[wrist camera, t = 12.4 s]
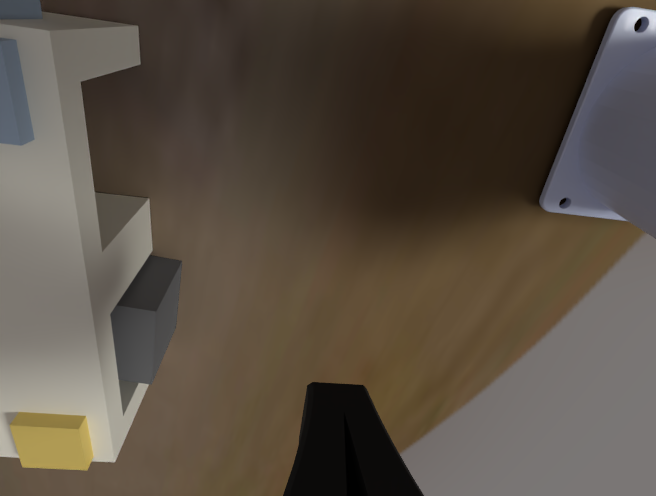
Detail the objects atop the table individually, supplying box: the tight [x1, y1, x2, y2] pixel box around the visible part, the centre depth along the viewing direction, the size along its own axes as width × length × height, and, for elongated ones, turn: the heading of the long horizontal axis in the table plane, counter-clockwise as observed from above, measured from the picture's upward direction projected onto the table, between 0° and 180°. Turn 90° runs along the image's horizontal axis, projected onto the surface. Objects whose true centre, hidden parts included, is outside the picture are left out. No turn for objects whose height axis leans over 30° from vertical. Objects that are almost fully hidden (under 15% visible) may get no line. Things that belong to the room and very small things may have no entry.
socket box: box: [0, 0, 153, 470], centre depth 16 cm, size 5×19×7 cm, turn 172°
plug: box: [110, 255, 182, 385], centre depth 19 cm, size 5×4×4 cm
